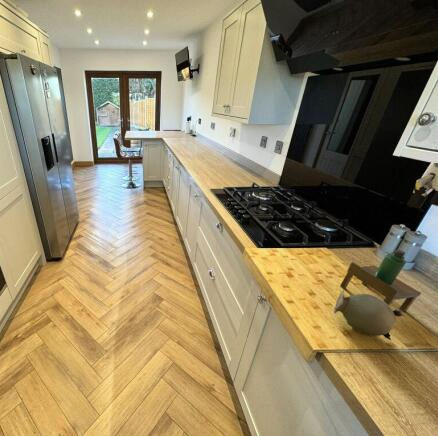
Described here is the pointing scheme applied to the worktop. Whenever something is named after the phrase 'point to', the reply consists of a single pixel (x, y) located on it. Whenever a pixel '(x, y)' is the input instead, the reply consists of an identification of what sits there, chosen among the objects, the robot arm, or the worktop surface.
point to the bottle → (391, 266)
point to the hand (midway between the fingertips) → (424, 206)
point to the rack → (382, 285)
